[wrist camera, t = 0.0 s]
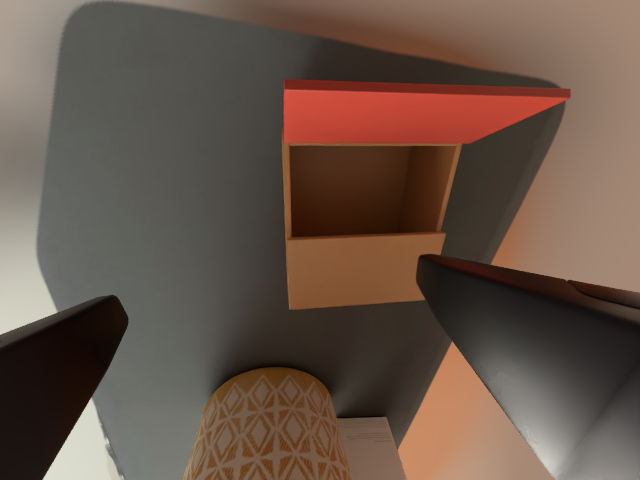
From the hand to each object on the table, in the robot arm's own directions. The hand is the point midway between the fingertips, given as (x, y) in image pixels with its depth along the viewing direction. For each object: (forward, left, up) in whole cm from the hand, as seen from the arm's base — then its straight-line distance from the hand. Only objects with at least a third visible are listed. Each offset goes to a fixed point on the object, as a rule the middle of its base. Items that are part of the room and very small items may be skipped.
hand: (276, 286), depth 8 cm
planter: (+26, -21, -18) cm, 38 cm away
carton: (+6, +3, -18) cm, 19 cm away
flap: (0, +8, -7) cm, 10 cm away
